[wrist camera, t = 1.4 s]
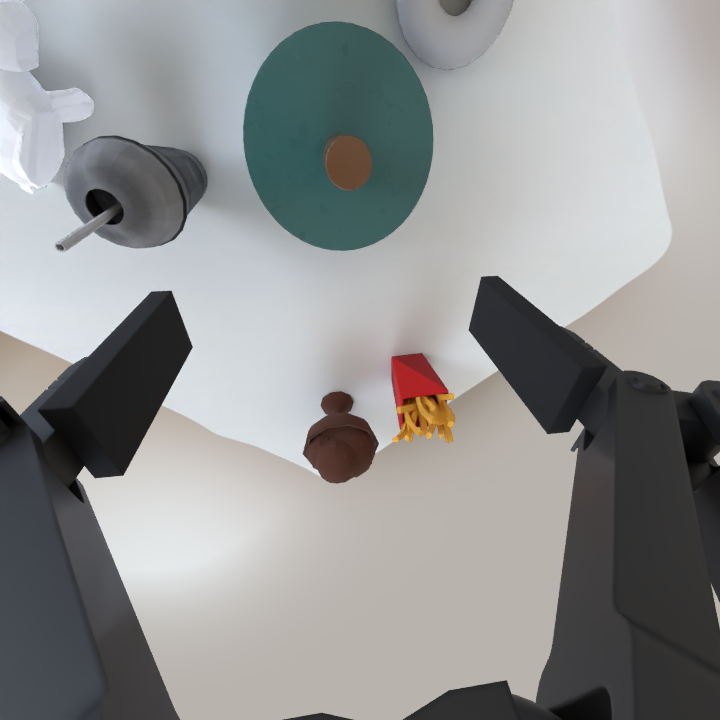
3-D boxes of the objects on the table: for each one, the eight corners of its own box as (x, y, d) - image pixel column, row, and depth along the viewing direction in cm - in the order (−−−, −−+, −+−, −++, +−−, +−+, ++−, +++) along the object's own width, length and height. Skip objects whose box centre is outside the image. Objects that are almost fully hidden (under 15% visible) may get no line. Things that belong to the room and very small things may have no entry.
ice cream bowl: (300, 423, 56) (297, 504, 44) (311, 374, 50) (311, 453, 38) (358, 428, 58) (370, 506, 46) (376, 382, 52) (394, 459, 40)
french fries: (425, 380, 53) (458, 454, 41) (377, 386, 53) (395, 463, 41) (429, 336, 48) (467, 406, 36) (375, 342, 47) (396, 416, 35)
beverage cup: (228, 154, 32) (142, 185, 16) (214, 225, 35) (134, 308, 19) (146, 116, 29) (-53, 106, 13) (140, 196, 33) (-20, 264, 17)
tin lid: (207, 156, 25) (174, 166, 19) (334, -46, 20) (343, -120, 14) (344, 277, 33) (351, 312, 26) (463, 153, 27) (507, 162, 21)
